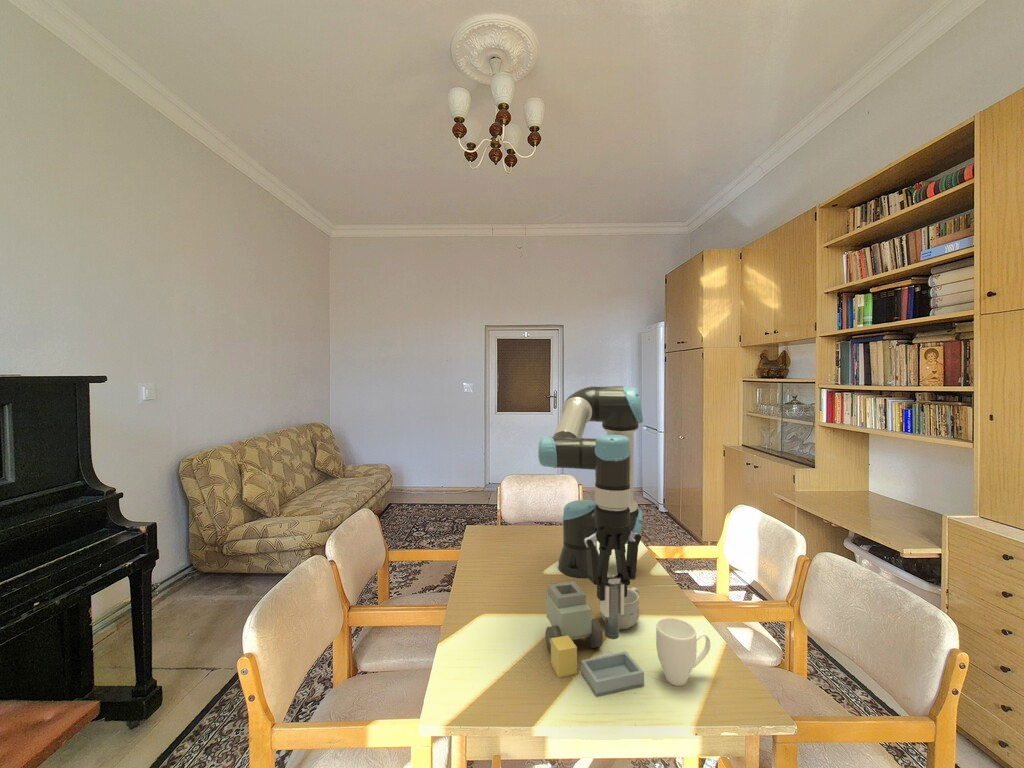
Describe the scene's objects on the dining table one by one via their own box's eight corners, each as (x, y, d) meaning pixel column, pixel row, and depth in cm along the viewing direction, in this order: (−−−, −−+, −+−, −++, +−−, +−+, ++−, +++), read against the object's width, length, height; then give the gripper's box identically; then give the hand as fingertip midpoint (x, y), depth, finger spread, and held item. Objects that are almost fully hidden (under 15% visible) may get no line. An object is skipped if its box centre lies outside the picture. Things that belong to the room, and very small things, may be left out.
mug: (667, 694, 91) (667, 640, 91) (649, 668, 99) (649, 618, 99) (720, 689, 92) (720, 636, 92) (698, 664, 101) (699, 615, 101)
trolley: (582, 626, 116) (582, 579, 116) (602, 651, 105) (603, 600, 105) (538, 633, 113) (538, 585, 113) (554, 661, 102) (554, 608, 102)
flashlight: (615, 629, 97) (615, 571, 97) (624, 638, 94) (624, 578, 94) (600, 631, 96) (600, 573, 96) (608, 641, 93) (608, 581, 93)
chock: (568, 660, 102) (568, 635, 102) (576, 673, 97) (576, 647, 97) (550, 663, 101) (550, 638, 101) (558, 677, 96) (558, 650, 96)
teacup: (616, 638, 111) (616, 607, 110) (590, 618, 120) (590, 589, 120) (656, 624, 117) (656, 595, 117) (628, 606, 127) (628, 579, 127)
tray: (625, 664, 101) (625, 651, 101) (644, 685, 93) (644, 672, 93) (581, 673, 97) (581, 660, 97) (596, 696, 90) (596, 682, 90)
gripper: (635, 499, 101) (634, 599, 101) (571, 504, 97) (571, 609, 96) (654, 508, 94) (653, 616, 94) (586, 513, 89) (586, 627, 89)
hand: (612, 612), depth 95 cm, fingers closed on flashlight, 3 cm apart
